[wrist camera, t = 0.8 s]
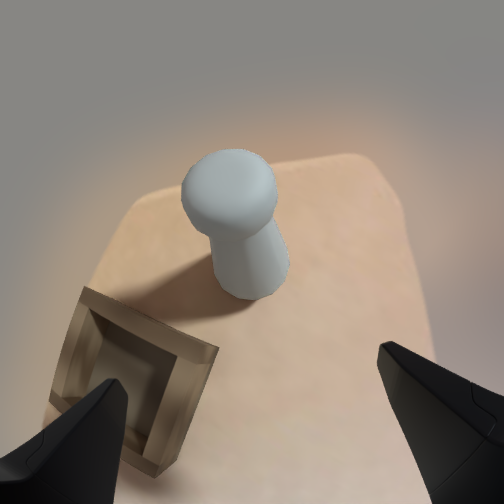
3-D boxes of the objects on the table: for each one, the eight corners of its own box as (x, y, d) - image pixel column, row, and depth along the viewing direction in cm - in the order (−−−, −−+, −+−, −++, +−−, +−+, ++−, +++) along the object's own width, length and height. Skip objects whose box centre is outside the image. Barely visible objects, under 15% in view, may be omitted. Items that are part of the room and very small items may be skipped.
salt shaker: (207, 282, 23) (133, 201, 11) (243, 229, 24) (210, 116, 12) (265, 318, 21) (244, 267, 9) (301, 260, 23) (318, 155, 11)
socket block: (176, 460, 17) (154, 478, 13) (78, 399, 20) (48, 401, 16) (219, 347, 21) (204, 344, 17) (112, 298, 23) (84, 285, 19)
